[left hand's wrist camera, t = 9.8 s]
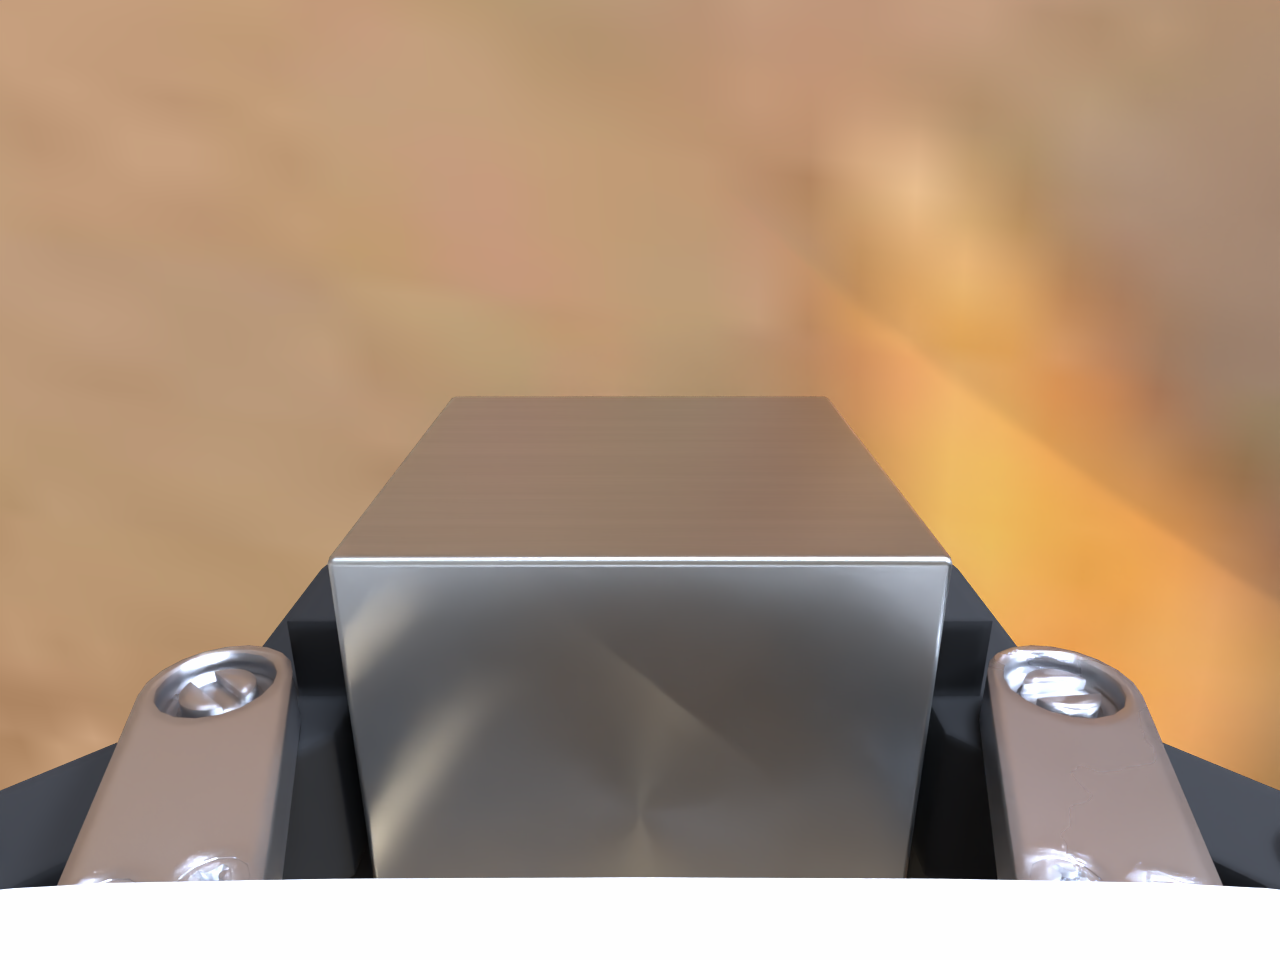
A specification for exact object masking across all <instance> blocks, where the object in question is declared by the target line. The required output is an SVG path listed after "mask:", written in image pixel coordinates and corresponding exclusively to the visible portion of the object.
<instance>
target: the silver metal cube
mask: <svg viewBox="0 0 1280 960" xmlns="http://www.w3.org/2000/svg"><path fill="white" fill-rule="evenodd" d="M328 568H329V575H330V582H331V589H332V596H333V603H334V609H335V616H336V623H337V630H338V637H339V644H340V651H341V657H342V664H343V671H344V678H345V685H346V692H347V698H348V705H349V712H350V719H351V726H352V733H353V740H354V746H355V753H356V760H357V767H358V774H359V781H360V788H361V794H362V801H363V808H364V815H365V822H366V829H367V835H368V842H369V849H370V856H371V863H372V870H373V877H374V879H441V878H839V879H906V876H907V870H908V863H909V856H910V849H911V842H912V835H913V828H914V822H915V815H916V808H917V801H918V794H919V787H920V780H921V774H922V767H923V760H924V753H925V746H926V739H927V733H928V726H929V719H930V712H931V705H932V698H933V691H934V685H935V678H936V671H937V664H938V657H939V650H940V644H941V637H942V630H943V623H944V616H945V609H946V602H947V596H948V589H949V582H950V575H951V568H952V561H951V558H950V556H949V555H948V553H947V552H946V551H945V550H944V548H943V547H942V546H941V544H940V543H939V542H938V540H937V539H936V538H935V537H934V535H933V534H932V533H931V531H930V530H929V529H928V527H927V526H926V525H925V524H924V522H923V521H922V520H921V518H920V517H919V516H918V514H917V513H916V512H915V511H914V509H913V508H912V507H911V505H910V504H909V503H908V501H907V500H906V499H905V498H904V496H903V495H902V494H901V492H900V491H899V490H898V488H897V487H896V486H895V485H894V483H893V482H892V481H891V479H890V478H889V477H888V475H887V474H886V473H885V472H884V470H883V469H882V468H881V466H880V465H879V464H878V462H877V461H876V460H875V459H874V457H873V456H872V455H871V453H870V452H869V451H868V449H867V448H866V447H865V446H864V444H863V443H862V442H861V440H860V439H859V438H858V436H857V435H856V434H855V433H854V431H853V430H852V429H851V427H850V426H849V425H848V423H847V422H846V421H845V420H844V418H843V417H842V416H841V414H840V413H839V412H838V410H837V409H836V408H835V407H834V405H833V404H832V403H831V401H830V400H829V399H828V398H826V397H454V398H452V399H451V400H450V401H449V403H448V404H447V405H446V407H445V408H444V409H443V410H442V412H441V413H440V414H439V416H438V417H437V418H436V420H435V421H434V422H433V423H432V425H431V426H430V427H429V429H428V430H427V431H426V432H425V434H424V435H423V436H422V438H421V439H420V440H419V442H418V443H417V444H416V445H415V447H414V448H413V449H412V451H411V452H410V453H409V455H408V456H407V457H406V458H405V460H404V461H403V462H402V464H401V465H400V466H399V468H398V469H397V470H396V471H395V473H394V474H393V475H392V477H391V478H390V479H389V481H388V482H387V483H386V484H385V486H384V487H383V488H382V490H381V491H380V492H379V494H378V495H377V496H376V497H375V499H374V500H373V501H372V503H371V504H370V505H369V507H368V508H367V509H366V510H365V512H364V513H363V514H362V516H361V517H360V518H359V520H358V521H357V522H356V523H355V525H354V526H353V527H352V529H351V530H350V531H349V533H348V534H347V535H346V536H345V538H344V539H343V540H342V542H341V543H340V544H339V546H338V547H337V548H336V549H335V551H334V552H333V553H332V555H331V556H330V558H329V561H328Z"/></svg>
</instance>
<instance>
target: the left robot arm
mask: <svg viewBox="0 0 1280 960" xmlns="http://www.w3.org/2000/svg"><path fill="white" fill-rule="evenodd" d="M0 960H1280V791H1279V790H1276V789H1274V788H1272V787H1269V786H1267V785H1264V784H1262V783H1259V782H1257V781H1255V780H1252V779H1250V778H1247V777H1245V776H1242V775H1240V774H1238V773H1235V772H1233V771H1230V770H1228V769H1225V768H1223V767H1220V766H1218V765H1216V764H1213V763H1211V762H1208V761H1206V760H1203V759H1201V758H1199V757H1196V756H1194V755H1191V754H1189V753H1186V752H1184V751H1182V750H1179V749H1177V748H1174V747H1172V746H1169V745H1167V744H1164V743H1162V741H1161V738H1160V736H1159V734H1158V731H1157V729H1156V727H1155V724H1154V722H1153V720H1152V717H1151V715H1150V713H1149V710H1148V708H1147V705H1146V703H1145V701H1144V698H1143V696H1142V694H1141V693H1140V692H1139V690H1138V689H1137V687H1136V686H1135V685H1134V683H1133V682H1132V681H1130V680H1129V679H1128V678H1127V677H1125V676H1124V675H1123V674H1122V673H1120V672H1119V671H1118V670H1116V669H1114V668H1112V667H1111V666H1109V665H1107V664H1105V663H1103V662H1101V661H1099V660H1097V659H1094V658H1092V657H1089V656H1086V655H1083V654H1080V653H1078V652H1074V651H1070V650H1065V649H1060V648H1056V647H1047V646H1033V645H1030V646H1021V647H1017V646H1016V645H1015V643H1014V642H1013V641H1012V639H1011V638H1010V637H1009V635H1008V634H1007V633H1006V631H1005V630H1004V629H1003V628H1002V626H1001V625H1000V624H999V622H998V621H997V620H996V618H995V617H994V616H993V614H992V613H991V612H990V611H989V609H988V608H987V607H986V605H985V604H984V603H983V601H982V600H981V599H980V597H979V596H978V595H977V594H976V592H975V591H974V590H973V588H972V587H971V586H970V584H969V583H968V582H967V580H966V579H965V578H964V577H963V575H962V574H961V573H960V571H959V570H958V569H957V568H956V567H955V566H954V565H952V568H951V575H950V582H949V589H948V596H947V602H946V609H945V616H944V623H943V630H942V637H941V644H940V650H939V657H938V664H937V671H936V678H935V685H934V691H933V698H932V705H931V712H930V719H929V726H928V733H927V739H926V746H925V753H924V760H923V767H922V774H921V780H920V787H919V794H918V801H917V808H916V815H915V822H914V828H913V835H912V842H911V849H910V856H909V863H908V870H907V876H906V879H839V878H441V879H374V877H373V870H372V863H371V856H370V849H369V842H368V835H367V829H366V822H365V815H364V808H363V801H362V794H361V788H360V781H359V774H358V767H357V760H356V753H355V746H354V740H353V733H352V726H351V719H350V712H349V705H348V698H347V692H346V685H345V678H344V671H343V664H342V657H341V651H340V644H339V637H338V630H337V623H336V616H335V609H334V603H333V596H332V589H331V582H330V575H329V568H328V565H326V566H325V567H324V568H322V569H321V571H320V572H319V573H318V575H317V576H316V577H315V579H314V580H313V581H312V582H311V584H310V585H309V586H308V588H307V589H306V590H305V592H304V593H303V594H302V596H301V597H300V598H299V599H298V601H297V602H296V603H295V605H294V606H293V607H292V609H291V610H290V611H289V613H288V614H287V615H286V616H285V618H284V619H283V620H282V622H281V623H280V624H279V626H278V627H277V628H276V630H275V631H274V632H273V633H272V635H271V636H270V637H269V639H268V640H267V641H266V643H265V644H264V645H263V647H259V646H250V645H247V646H233V647H224V648H220V649H215V650H210V651H206V652H202V653H200V654H197V655H194V656H191V657H188V658H186V659H183V660H181V661H179V662H177V663H175V664H173V665H171V666H169V667H168V668H166V669H164V670H162V671H161V672H160V673H158V674H157V675H156V676H155V677H153V678H152V679H151V680H150V681H148V682H147V683H146V685H145V686H144V687H143V689H142V690H141V692H140V693H139V694H138V696H137V698H136V701H135V703H134V705H133V708H132V710H131V713H130V715H129V717H128V720H127V722H126V724H125V727H124V729H123V731H122V734H121V736H120V738H119V741H118V743H115V744H113V745H110V746H108V747H105V748H103V749H101V750H98V751H96V752H93V753H91V754H88V755H86V756H83V757H81V758H79V759H76V760H74V761H71V762H69V763H66V764H64V765H62V766H59V767H57V768H54V769H52V770H49V771H47V772H45V773H42V774H40V775H37V776H35V777H32V778H30V779H28V780H25V781H23V782H20V783H18V784H15V785H13V786H10V787H8V788H6V789H3V790H1V791H0Z"/></svg>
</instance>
